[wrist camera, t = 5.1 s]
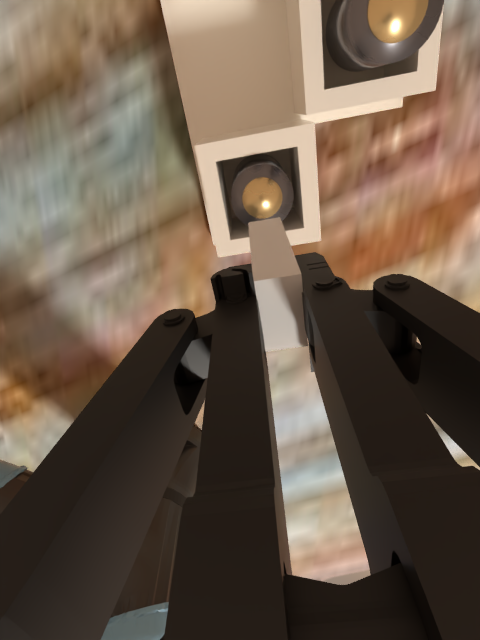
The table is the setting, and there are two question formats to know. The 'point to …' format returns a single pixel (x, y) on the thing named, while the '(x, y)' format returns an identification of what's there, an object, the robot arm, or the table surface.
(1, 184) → the table surface
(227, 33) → the knob panel
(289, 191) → the knob
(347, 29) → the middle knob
